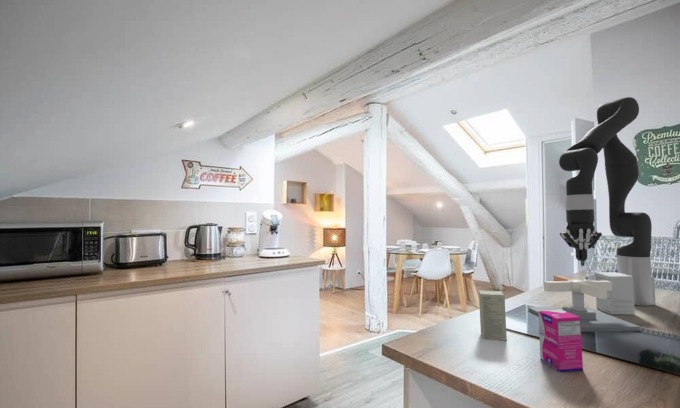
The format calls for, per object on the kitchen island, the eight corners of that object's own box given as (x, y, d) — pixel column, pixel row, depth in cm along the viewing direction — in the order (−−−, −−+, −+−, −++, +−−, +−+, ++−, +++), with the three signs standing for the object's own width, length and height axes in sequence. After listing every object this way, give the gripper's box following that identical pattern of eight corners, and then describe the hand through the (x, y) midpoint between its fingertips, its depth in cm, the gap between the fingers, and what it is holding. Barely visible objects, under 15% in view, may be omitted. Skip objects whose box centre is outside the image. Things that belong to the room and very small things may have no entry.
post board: (586, 310, 111) (585, 284, 111) (640, 330, 91) (639, 299, 91) (528, 310, 111) (527, 285, 111) (569, 331, 91) (568, 300, 91)
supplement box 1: (539, 360, 74) (537, 309, 74) (563, 359, 74) (561, 308, 75) (558, 372, 68) (556, 317, 68) (584, 371, 69) (582, 316, 69)
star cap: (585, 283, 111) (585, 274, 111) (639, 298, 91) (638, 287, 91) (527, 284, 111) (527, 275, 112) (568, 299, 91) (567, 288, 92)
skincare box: (504, 335, 89) (503, 291, 90) (507, 341, 85) (505, 294, 85) (479, 333, 91) (478, 289, 92) (481, 338, 87) (479, 293, 88)
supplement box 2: (618, 308, 112) (616, 272, 113) (635, 315, 105) (633, 276, 105) (595, 308, 113) (594, 272, 114) (611, 314, 106) (609, 275, 106)
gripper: (590, 208, 112) (592, 259, 111) (552, 209, 112) (554, 259, 111) (608, 208, 105) (610, 262, 104) (567, 208, 105) (569, 262, 104)
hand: (581, 260), depth 108 cm, fingers closed
